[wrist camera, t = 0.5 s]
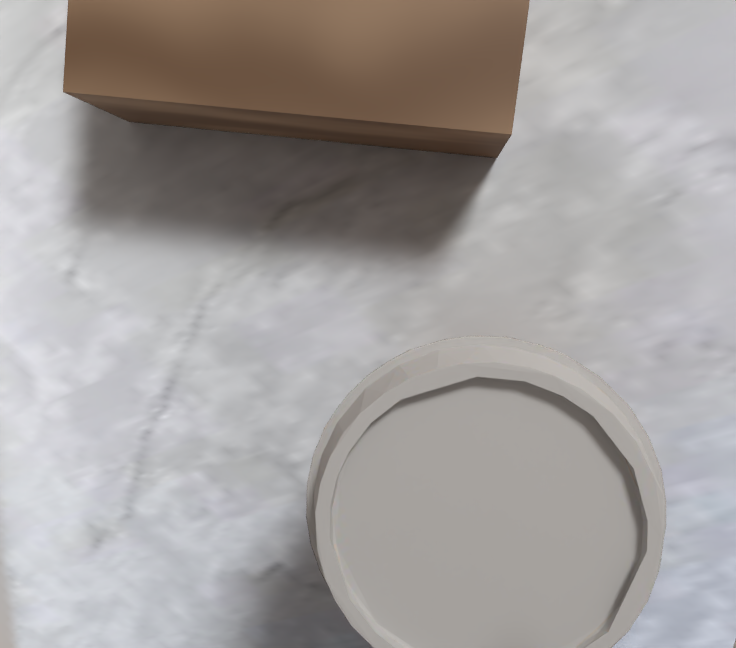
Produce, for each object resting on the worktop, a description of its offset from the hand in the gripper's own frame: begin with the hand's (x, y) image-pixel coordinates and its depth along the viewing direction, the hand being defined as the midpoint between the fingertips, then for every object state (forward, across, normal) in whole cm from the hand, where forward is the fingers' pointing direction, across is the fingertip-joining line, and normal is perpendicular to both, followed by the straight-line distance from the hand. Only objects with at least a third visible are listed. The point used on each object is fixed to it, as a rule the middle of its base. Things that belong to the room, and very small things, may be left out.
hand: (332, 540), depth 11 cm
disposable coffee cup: (+17, -2, +6) cm, 18 cm away
